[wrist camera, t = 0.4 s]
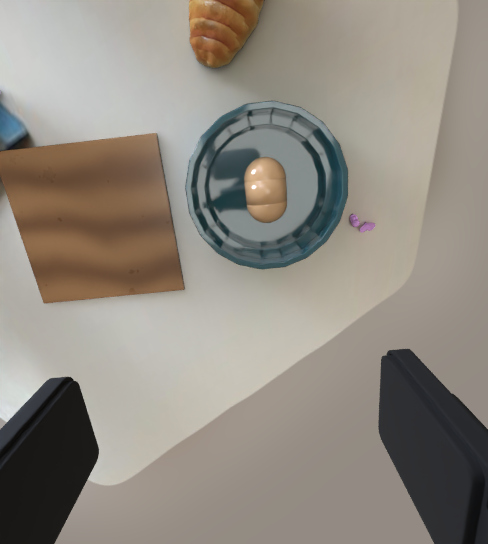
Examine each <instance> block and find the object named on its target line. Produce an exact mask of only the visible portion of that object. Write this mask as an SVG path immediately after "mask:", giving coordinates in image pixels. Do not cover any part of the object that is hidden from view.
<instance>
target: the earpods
mask: <svg viewBox="0 0 488 544" xmlns="http://www.w3.org/2000/svg"><path fill="white" fill-rule="evenodd" d="M350 221H351V222H352V226H353V227H357V226H359V224H360V222H359V221H358V217H357V216H356V215H353V214H351V216H350ZM374 227H375V224H374V223H367V224H366V222H365V225H363V226H362V227H361V228H360V232H364V231H365V230H368V231H370V230H372V229H373V228H374Z"/></svg>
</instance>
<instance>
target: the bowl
mask: <svg viewBox="0 0 488 544" xmlns="http://www.w3.org/2000/svg"><path fill="white" fill-rule="evenodd" d="M260 157H271V158H274V159H276V160H277V161H278V162H279V163H280V164H281V165H282V166H283V168H284V170H285V174H286V184H287V208H286V211H285V213H284V214H283V216H282V217H281V218H279V219H278V220H276V221H274V222H272V223H261V222H259V221H257V220H255V219H254V218H253V217H252V216H251V215H250V214H249V212H248V210H247V206H246V197H245V187H244V174H245V171H246V168H247V167H248V165H249V164H250V163H251V162H252V161H253V160H255V159H257V158H260ZM186 195H187V201H188V207H189V213H190V215H191V217H192V219H193V221H194V223H195V225H196V227H197V229H198V231H199V233H200V235H201V237H202V238H203V239H204V240H205V241H206V242H207V243H208V244H209V245H210V246H211V247H212V248H213V249H214V250H215V251H216V252H217V253H218V254H220V255H222V256H223V257H225V258H227V259H229V260H231V261H233V262H234V263H236V264H238V265H243V266H248V267H252V268H257V269H269V268H280V267H286V266H288V265H291V264H293V263H295V262H298V261H300V260H303V259H305V258H307V257H308V256H310V255H311V254H312V253H313V252H314V251H316V250H317V249H318V248H319V247H321V246H322V245H323V244H324V243H325V242H326V241H327V240H328V238H329V237H330V235H331V234H332V232H333V231H334V229H335V228H336V226H337V225H338V223H339V222H340V220H341V216H342V213H343V210H344V207H345V204H346V200H347V196H348V169H347V166H346V163H345V159H344V156H343V153H342V150H341V147H340V144H339V143H338V141H337V140H336V139H335V137H334V136H333V135H332V133H331V132H330V131H329V129H328V128H327V127H326V125H325V124H324V123H323V122H322V121H321V120H319V119H318V118H316V117H315V116H313V115H312V114H310V113H309V112H307V111H306V110H304V109H303V108H301V107H298V106H294V105H290V104H286V103H281V102H277V101H266V102H258V103H249V104H245V105H243V106H241V107H239V108H237V109H235V110H233V111H231V112H229V113H227V114H225V115H223V116H221V117H220V118H219V119H218V120H217V121H216V122H215V123H214V124H213V125H212V126H211V127H210V128H209V129H208V130H207V131H206V132H205V133H204V134H203V135H202V137H201V138H200V140H199V142H198V144H197V146H196V148H195V150H194V152H193V154H192V156H191V158H190V160H189V166H188V173H187V180H186Z"/></svg>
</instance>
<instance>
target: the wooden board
mask: <svg viewBox="0 0 488 544" xmlns="http://www.w3.org/2000/svg"><path fill="white" fill-rule="evenodd" d="M0 176H1V179H2V182H3V184H4V187H5V190H6V193H7V196H8V199H9V202H10V205H11V208H12V211H13V214H14V217H15V220H16V223H17V226H18V229H19V232H20V235H21V238H22V240H23V243H24V246H25V249H26V252H27V255H28V258H29V261H30V264H31V267H32V270H33V273H34V276H35V279H36V282H37V285H38V288H39V291H40V294H41V296H42V299H43V302H44V303H53V302H63V301H73V300H83V299H93V298H104V297H114V296H124V295H134V294H144V293H154V292H165V291H175V290H184V283H183V277H182V272H181V266H180V260H179V255H178V249H177V244H176V238H175V232H174V227H173V221H172V216H171V210H170V205H169V199H168V193H167V188H166V182H165V177H164V171H163V165H162V160H161V154H160V149H159V143H158V137H157V134H156V133H153V134H144V135H136V136H127V137H119V138H110V139H101V140H93V141H84V142H76V143H67V144H59V145H50V146H41V147H33V148H24V149H16V150H7V151H0Z"/></svg>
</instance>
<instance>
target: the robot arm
mask: <svg viewBox="0 0 488 544" xmlns="http://www.w3.org/2000/svg"><path fill="white" fill-rule="evenodd" d="M379 434H380V437H381V440H382V442H383V444H384V446H385V448H386V450H387V452H388V454H389V456H390V458H391V459H392V462H393V463H394V465H395V467H396V469H397V471H398V473H399V475H400V477H401V479H402V481H403V483H404V485H405V487H406V489H407V491H408V493H409V495H410V497H411V499H412V501H413V503H414V505H415V506H416V509H417V511H418V512H419V515H420V516H421V518H422V520H423V522H424V524H425V526H426V528H427V530H428V532H429V534H430V536H431V538H432V540H433V542H434V544H488V429H487V428H486V427H485V426H484V425H483V424H482V423H481V422H480V421H479V420H478V419H477V418H476V417H475V415H474V414H473V413H472V412H471V411H470V410H469V409H468V408H467V407H466V406H465V405H464V404H463V403H462V402H461V401H460V400H459V399H458V398H457V397H456V396H455V395H454V394H451V393H450V391H449V390H448V389H447V388H446V387H445V386H444V385H443V384H442V383H441V382H440V381H439V380H438V379H437V378H436V376H434V374H433V373H432V372H431V371H430V370H429V369H428V368H427V367H426V366H425V365H424V364H423V363H422V362H421V361H420V359H419V358H418V357H417V356H416V355H415V354H414V353H413V352H412V351H411V350H410V349H399V350H389V351H388V352H387V356H382V359H381V379H380V403H379ZM98 455H99V448H98V444H97V441H96V438H95V435H94V431H93V428H92V425H91V422H90V419H89V415H88V412H87V409H86V406H85V402H84V399H83V396H82V393H81V389H80V386H79V384H78V382H76V381H74V380H73V379H72V378H71V377H61V378H51V379H49V380H47V381H46V382H45V383H44V384H43V385H42V386H41V387H40V389H39V390H38V391H37V392H36V393H35V394H34V395H33V396H32V397H31V398H30V399H29V400H28V401H27V402H26V403H25V404H24V405H23V406H22V407H21V408H20V410H19V411H18V412H17V413H16V414H15V415H14V416H13V417H12V418H11V419H10V420H9V421H8V422H7V423H6V424H5V425H4V426H3V427H2V428H1V430H0V544H54V543H55V541H56V539H57V537H58V535H59V534H60V532H61V530H62V528H63V526H64V524H65V522H66V520H67V518H68V516H69V514H70V512H71V510H72V508H73V506H74V504H75V503H76V500H77V498H78V497H79V495H80V493H81V491H82V489H83V487H84V485H85V483H86V481H87V479H88V477H89V475H90V473H91V471H92V469H93V468H94V466H95V464H96V462H97V459H98Z"/></svg>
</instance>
